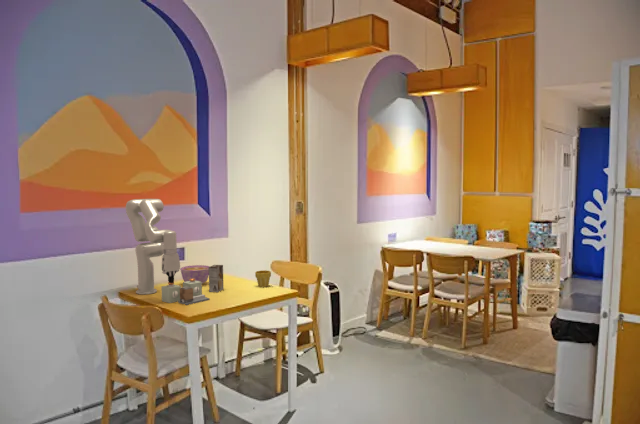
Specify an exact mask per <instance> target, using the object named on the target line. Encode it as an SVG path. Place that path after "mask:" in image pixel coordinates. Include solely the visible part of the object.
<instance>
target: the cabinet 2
mask: <svg viewBox="0 0 640 424" xmlns="http://www.w3.org/2000/svg"><path fill="white" fill-rule="evenodd" d="M182 287H191V288H193V297H194V296H199V295H203V288H202V287H203V284H202V282H200V281H195V282H194V283H190V281H187V282H184V281H183V282H182Z"/></svg>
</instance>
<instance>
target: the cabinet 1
mask: <svg viewBox="0 0 640 424" xmlns="http://www.w3.org/2000/svg"><path fill="white" fill-rule="evenodd" d="M160 287H161V301H162V302H164V303H166V304H167V303H168V304H173V303H178V301H180V288H182V285H178V284H174V287H169V284H167V285H163V286H160Z"/></svg>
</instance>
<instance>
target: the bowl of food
mask: <svg viewBox="0 0 640 424" xmlns="http://www.w3.org/2000/svg"><path fill="white" fill-rule="evenodd" d="M209 267H210V266H209V265H204V264H203V265H202V264H201V265H200V264H196V265H195V264H194V265H193V264H192V265H185V266H182V267H180V269H179V271H180V275H181V277H182V281H183V282H187V281H190V280H189V279H191V278H195V281H200V282H202V285H203V284H204V283H206V282H207V281H208V280H209Z"/></svg>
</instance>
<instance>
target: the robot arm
mask: <svg viewBox="0 0 640 424" xmlns="http://www.w3.org/2000/svg"><path fill="white" fill-rule="evenodd" d="M125 204H126V205H125V212H126V213H125V214H126V216H127V218H128V219H129V221H130V224H131V228H132V232H133V237H134V239H135V241H136V242H139V244H138V245H136V246H135V255H136V262H137V283H138V285H137V286H136V288H137V290H135V293H136V294H137V295H152V294H156V293H157V291H158V290H157V289H156V288H155V277H154V276H155V275H154V274H155V270H154V269H155V268H154V263H153V261H152V260H151V258H156V257H157V258H158V257H161V256H162V257H161V270H162V272H161V273H162V274H163V275H166V277H167V278H168V279H167V281H168V282H169V283H174V284H175V276H176V274H177V273H178V272H180V268H181V262H180V260H181V259H180V255H179V253H178V249H177V247H178V246H177V243H178V242H177V232H176V231H175V230H171V229H159V228H158V227H157V226H155V225H156V224H158V223H159V222H160V221H161V219H162V217H161V214H160V213H161V212H163V211H164V202H163V201H162V199H160V198H135V199H130V200H128V201H127V202H126V203H125ZM140 213H142V215H143V216H142V215H141V214H140Z"/></svg>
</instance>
